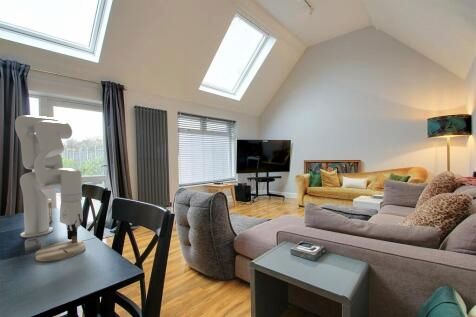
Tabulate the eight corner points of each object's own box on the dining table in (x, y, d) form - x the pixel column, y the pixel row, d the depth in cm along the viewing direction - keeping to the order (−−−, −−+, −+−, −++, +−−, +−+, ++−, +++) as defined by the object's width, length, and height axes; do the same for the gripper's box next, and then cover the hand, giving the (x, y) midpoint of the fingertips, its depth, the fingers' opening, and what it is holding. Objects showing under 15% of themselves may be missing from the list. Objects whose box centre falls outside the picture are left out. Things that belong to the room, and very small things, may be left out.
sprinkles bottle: (53, 220, 141) (52, 198, 140) (51, 222, 137) (50, 199, 136) (44, 221, 139) (43, 199, 138) (41, 223, 135) (40, 200, 134)
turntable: (30, 254, 92) (30, 244, 92) (76, 241, 104) (76, 232, 104) (41, 265, 82) (41, 254, 82) (91, 250, 95) (91, 240, 95)
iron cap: (23, 251, 96) (22, 239, 96) (37, 246, 100) (37, 235, 100) (28, 253, 94) (27, 241, 93) (43, 248, 98) (42, 237, 98)
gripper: (53, 197, 101) (54, 238, 102) (71, 201, 94) (72, 245, 94) (71, 194, 107) (72, 232, 108) (90, 197, 100) (90, 238, 101)
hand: (72, 238), depth 101 cm, fingers closed
